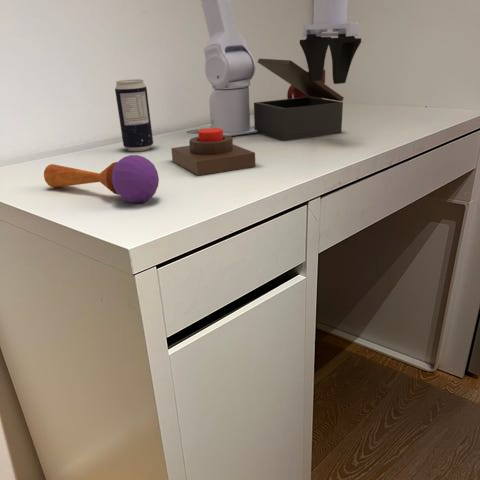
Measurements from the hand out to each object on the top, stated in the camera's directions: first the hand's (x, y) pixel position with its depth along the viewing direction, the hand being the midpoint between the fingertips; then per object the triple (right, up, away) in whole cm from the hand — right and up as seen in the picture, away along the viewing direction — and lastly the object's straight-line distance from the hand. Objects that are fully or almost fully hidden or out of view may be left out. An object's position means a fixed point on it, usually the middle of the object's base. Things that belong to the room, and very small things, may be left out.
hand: (327, 82), depth 92 cm
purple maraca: (-35, -26, -21) cm, 49 cm away
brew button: (-21, -14, -10) cm, 27 cm away
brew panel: (-21, -17, -8) cm, 28 cm away
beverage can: (-35, -11, +6) cm, 37 cm away
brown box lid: (-4, +4, +9) cm, 11 cm away
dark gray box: (-4, -4, +14) cm, 15 cm away
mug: (0, +7, +33) cm, 34 cm away
